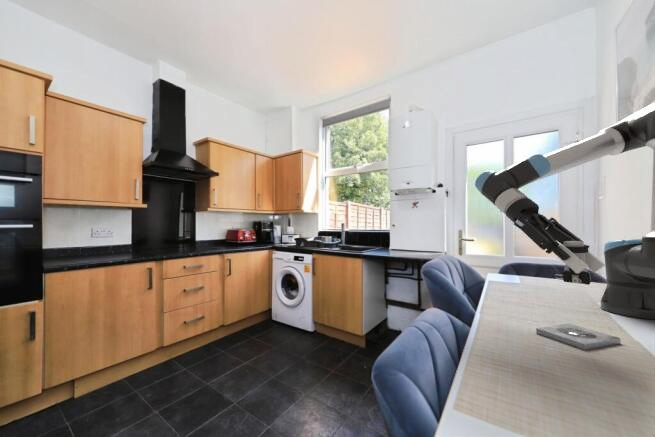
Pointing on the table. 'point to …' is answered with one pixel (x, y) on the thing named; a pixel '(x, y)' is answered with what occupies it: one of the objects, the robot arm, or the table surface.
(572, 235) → the robot arm
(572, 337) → the flange plate
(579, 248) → the push button
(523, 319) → the table surface
